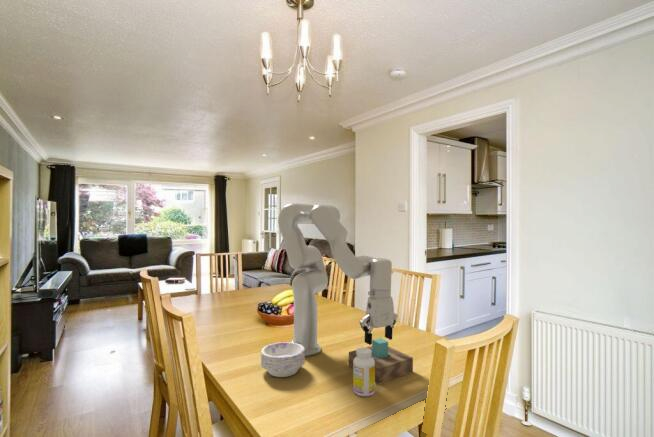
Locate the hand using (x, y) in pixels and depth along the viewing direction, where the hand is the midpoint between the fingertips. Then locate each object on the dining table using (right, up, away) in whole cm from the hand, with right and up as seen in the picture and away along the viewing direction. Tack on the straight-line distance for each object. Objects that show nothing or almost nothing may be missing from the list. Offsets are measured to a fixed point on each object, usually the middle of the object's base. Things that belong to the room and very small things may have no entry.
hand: (378, 340), depth 118 cm
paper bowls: (-34, -10, -3) cm, 35 cm away
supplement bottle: (-7, -10, -16) cm, 20 cm away
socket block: (+1, -10, 0) cm, 10 cm away
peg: (0, -10, 0) cm, 10 cm away
